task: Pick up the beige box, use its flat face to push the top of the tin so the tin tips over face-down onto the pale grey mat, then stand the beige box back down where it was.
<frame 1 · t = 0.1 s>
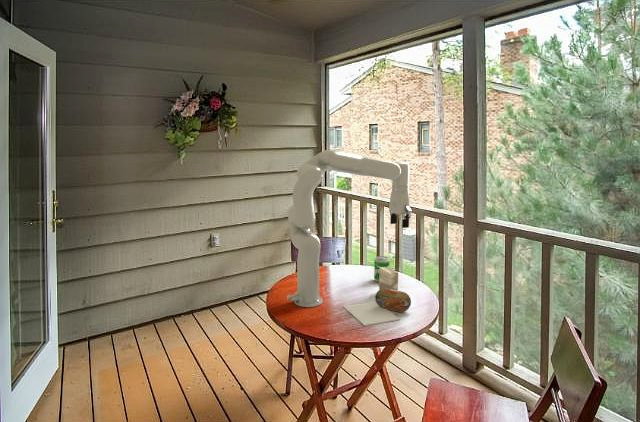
hand: (399, 225, 203), 31 cm above the table, tool pointing down, fingers open, 9 cm apart
beige box: (388, 295, 201), on the table
soda can: (381, 281, 221), on the table
mat: (370, 313, 180), on the table
tin: (392, 309, 184), on the table, touching mat
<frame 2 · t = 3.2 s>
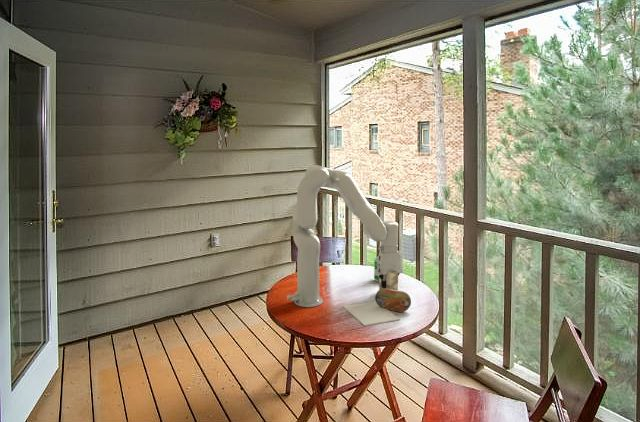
hand: (388, 287, 200), 4 cm above the table, tool pointing down, fingers closed on beige box, 4 cm apart
beige box: (388, 295, 201), on the table, touching gripper
everything else where it was.
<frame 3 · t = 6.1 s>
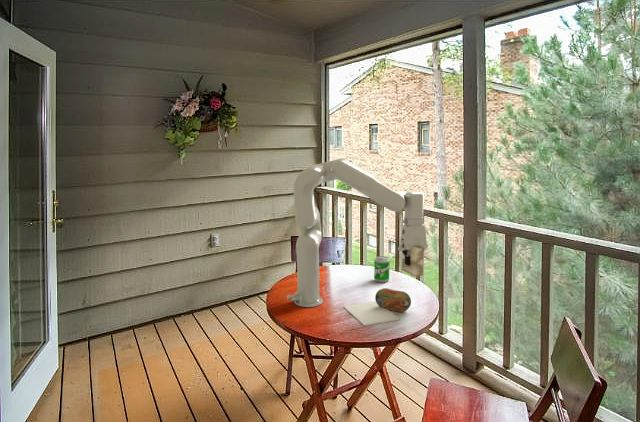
hand: (412, 263, 184), 19 cm above the table, tool pointing down, fingers closed on beige box, 4 cm apart
beige box: (412, 272, 184), point 15 cm above the table, touching gripper
everything else where it was.
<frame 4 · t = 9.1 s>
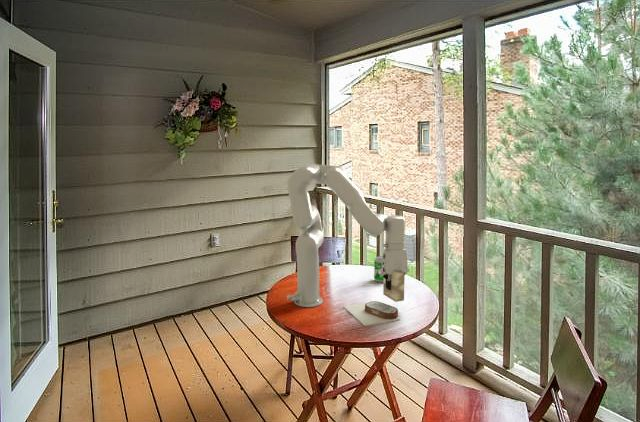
hand: (393, 288, 182), 10 cm above the table, tool pointing down, fingers closed on beige box, 4 cm apart
beige box: (393, 297, 183), point 6 cm above the table, touching gripper
tin: (387, 306, 182), point 2 cm above the table, touching mat
everything else where it was.
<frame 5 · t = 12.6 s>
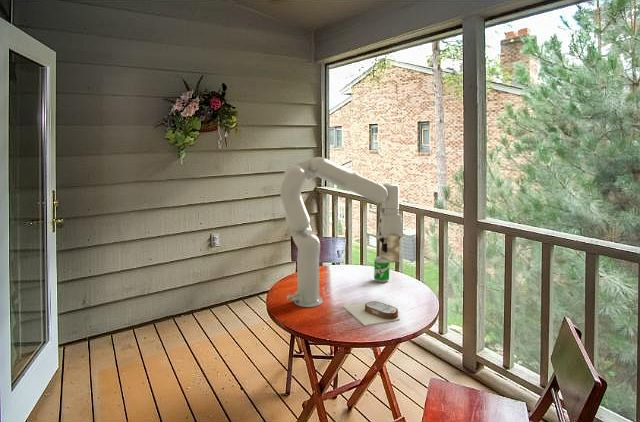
hand: (389, 250, 197), 21 cm above the table, tool pointing down, fingers closed on beige box, 4 cm apart
beige box: (389, 259, 198), point 17 cm above the table, touching gripper
everything else where it was.
when the fingers open (5 cm above the table, at t = 15.7 s): beige box drops 1 cm, on the table.
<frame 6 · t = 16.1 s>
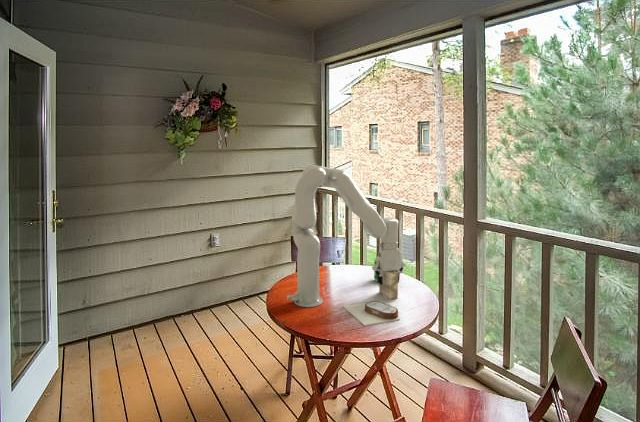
hand: (388, 282, 200), 6 cm above the table, tool pointing down, fingers open, 8 cm apart
beige box: (388, 295, 201), on the table
everything else where it was.
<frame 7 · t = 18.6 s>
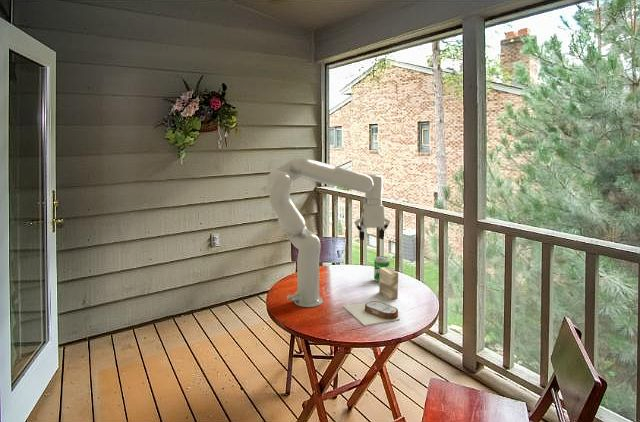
hand: (371, 239, 199), 26 cm above the table, tool pointing down, fingers open, 9 cm apart
nothing on the table moved.
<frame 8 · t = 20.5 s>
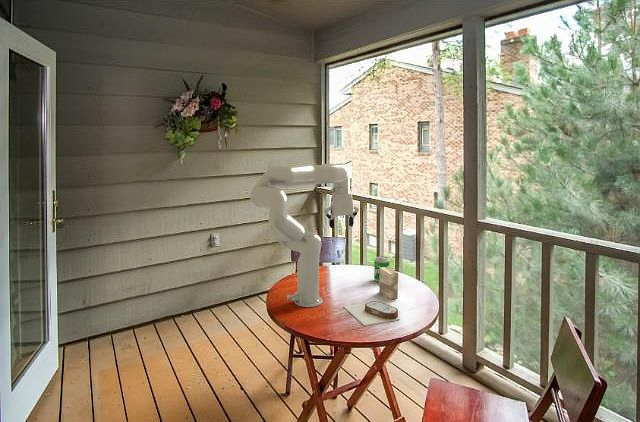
hand: (341, 227, 204), 30 cm above the table, tool pointing down, fingers open, 9 cm apart
nothing on the table moved.
at the end: tin tilted 94°; the gripper is holding nothing; beige box touching table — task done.
